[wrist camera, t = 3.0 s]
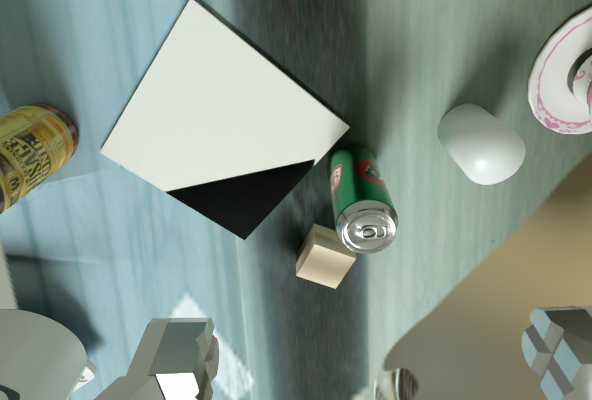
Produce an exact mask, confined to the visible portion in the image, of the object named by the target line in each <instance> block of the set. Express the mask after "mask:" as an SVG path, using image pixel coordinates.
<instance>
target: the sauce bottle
mask: <svg viewBox="0 0 592 400" xmlns="http://www.w3.org/2000/svg"><path fill="white" fill-rule="evenodd" d="M78 141H79V140H78V134H77V131H76V129H75V127H74V126H73V124H72V122H71V121H70V120H69V118H68V117H67V116H66V115H65V114H64V113H62V112H61V111H59V110H56V109H54V108H53V107H50V106H48V105H44V104H32V105H28V106H20V107H18V108H16V109H14V110H12V111H10V112H7V113H5V114H3V115H1V116H0V214H1V213H3V212H4V211H5V210H7V209H8V208H9V207H11V206H12V205H13V204H14V203H15V202H17V201H18V200H19V199H20V198H22V197H23V196H25V195H26V194H27V193H28V192H29V191H31V190H32V189H34V188H35V187H36V186H38V185H39V184H40V183H41V182H42V181H43V180H45V179H46V178H47V177H48V176H50V175H51V174H52V173H53V172H55V171H56V170H57V169H58V168H60V167H61V166H62V165H64V164H65V163H66V162H67V161H68V160H69V159H70V157H71V156H72V155H73V154H74V152H75V150H76V148H77V145H78Z"/></svg>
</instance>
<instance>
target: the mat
mask: <svg viewBox="0 0 592 400" xmlns="http://www.w3.org/2000/svg"><path fill="white" fill-rule="evenodd" d="M349 128H350V127H349V126H348V125H347V124H346V123H345V122H344V121H342V120H341V119H340V118H339V117H337V116H336V115H335V114H334V113H333V112H331V111H330V110H329V109H328V108H326V107H325V106H324V105H323V104H321V103H320V102H319V101H318V100H317V99H315V98H314V97H313V96H312V95H310V94H309V93H308V92H307V91H306V90H304V89H303V88H302V87H301V86H299V85H298V84H297V83H296V82H295V81H293V80H292V79H291V78H290V77H288V76H287V75H286V74H285V73H284V72H282V71H281V70H280V69H279V68H277V67H276V66H275V65H274V64H273V63H271V62H270V61H269V60H268V59H266V58H265V57H264V56H263V55H262V54H260V53H259V52H258V51H257V50H255V49H254V48H253V47H252V46H250V45H249V44H248V43H247V42H246V41H244V40H243V39H242V38H241V37H239V36H238V35H237V34H236V33H235V32H233V31H232V30H231V29H230V28H228V27H227V26H226V25H225V24H224V23H222V22H221V21H220V20H219V19H217V18H216V17H215V16H214V15H213V14H211V13H210V12H209V11H208V10H206V9H205V8H204V7H203V6H202V5H200V4H199V3H198V2H197V1H195V0H189V2H188V3H187V5H186V7H185V8H184V10H183V12H182V13H181V15H180V17H179V19H178V20H177V22H176V24H175V25H174V27H173V29H172V30H171V32H170V34H169V35H168V37H167V39H166V41H165V42H164V44H163V46H162V47H161V49H160V51H159V52H158V54H157V56H156V58H155V59H154V61H153V63H152V64H151V66H150V68H149V69H148V71H147V73H146V75H145V76H144V78H143V80H142V81H141V83H140V85H139V86H138V88H137V90H136V91H135V93H134V95H133V97H132V98H131V100H130V102H129V103H128V105H127V107H126V108H125V110H124V112H123V114H122V115H121V117H120V119H119V120H118V122H117V124H116V125H115V127H114V129H113V131H112V132H111V134H110V136H109V137H108V139H107V141H106V142H105V144H104V146H103V147H102V149H101V151H100V153H101V154H103V155H105V156H106V157H108V158H110V159H111V160H113V161H115V162H116V163H118V164H120V165H121V166H123V167H125V168H126V169H128V170H130V171H131V172H133V173H134V174H136V175H138V176H139V177H141V178H143V179H144V180H146V181H148V182H149V183H151V184H153V185H154V186H156V187H158V188H159V189H161V190H163V191H164V192H166V193H167V194H169V195H171V196H172V197H174V198H176V199H177V200H179V201H181V202H182V203H184V204H186V205H187V206H189V207H191V208H192V209H194V210H196V211H197V212H199V213H200V214H202V215H204V216H205V217H207V218H209V219H210V220H212V221H214V222H215V223H217V224H219V225H220V226H222V227H224V228H225V229H227V230H229V231H230V232H232V233H233V234H235V235H237V236H238V237H240V238H242V239H243V240H245V239H246V238H247V237H248V236H249V235H250V234H251V233H252V232H253V231H254V230H255V229H256V227H257V226H258V225H259V224H260V223H261V222H262V221H263V220H264V219H265V218H266V217H267V216H268V215H269V214H270V212H271V211H272V210H273V209H274V208H275V207H276V206H277V205H278V204H279V203H280V202H281V201H282V200H283V199H284V197H285V196H286V195H287V194H288V193H289V192H290V191H291V190H292V189H293V188H294V187H295V186H296V185H297V184H298V182H299V181H300V180H301V179H302V178H303V177H304V176H305V175H306V174H307V173H308V172H309V171H310V170H311V169H312V167H313V166H314V165H315V164H316V163H317V162H318V161H319V160H320V159H321V158H322V157H323V156H324V155H325V154H326V152H327V151H328V150H329V149H330V148H331V147H332V146H333V145H334V144H335V143H336V142H337V141H338V140H339V139H340V137H341V136H342V135H343V134H344V133H345V132H346V131H347V130H348V129H349Z"/></svg>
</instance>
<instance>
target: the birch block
mask: <svg viewBox="0 0 592 400" xmlns="http://www.w3.org/2000/svg"><path fill="white" fill-rule="evenodd" d="M355 259H356V256H355V252H354V251H352V250H350V249H349V248H348V247H347V246H346V245H345V244H344V243H343V242H342V241H341V240H340V239H339V237H338V235H337V233H336V231H334V230H331V229H328V228H326V227H323V226H320V225H317V224H315V223H313V225H312V227H311V229H310V230H309V232H308V234H307V236H306V237H305V239H304V241H303V243H302V244H301V246H300V248H299V250H298V252H297V253H296V276H298V277H301V278H304V279H308V280H311V281H314V282H317V283H320V284H323V285H326V286H329V287H332V288H335V289H336V287H337V286H338V284H339V283H340V281H341V280H342V278H343V277H344V276H345V274H346V273H347V271H348V270H349V268H350V267H351V265H352V264H353V262H354V261H355Z"/></svg>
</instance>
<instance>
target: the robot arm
mask: <svg viewBox="0 0 592 400" xmlns="http://www.w3.org/2000/svg"><path fill="white" fill-rule="evenodd" d="M529 319H530V320H531V322H532V323H533V325H531V326H529V327H528V328H527V329H525V330H524V333H523V336H522V350H523V353H524V356H525V359H526V361H527V363H528V365H529V367H530V368H531V369H532V370H533V371H535V372H536V373H538V374H539V375H540V376H542V377H541V382H540V386H541V388H542V390H543V391H544V393H545V395H546V397H547V399H548V400H592V306H579V307H576V306H567V307H544V308H536V309H534V310H533V311H532V313H531V315H530V318H529ZM213 329H214V325H213V322H212V318H152V320H151V321H150V322H149V323H148V324H147V327H146V329H145V332H144V334H143V336H142V339H141V341H140V343H139V346H138V348H137V351H136V353H135V355H134V358H133V360H132V362H131V365H130V367H129V370H128V372H127V374H126V376H121V377H119V378H118V379H116V380H115V381H114V382H113V383H112V384H111V385H110V386H109V387H107V388H106V389H105V390H104V391H103V392H102V393H101V394H100V395H98V396H97V397H96V398H95V399H94V400H212V395H213V390H212V387H211V383H210V382H211V381H212V380H213V379H214V378H215V376H216V375H217V370H218V363H219V346H218V341H217V338H216V337H215V336H213V335H212V334H213ZM97 372H98V369H97V367H96V366H95V365H94V364H93V363H92V362H91V361H90V360H89V359H88V357H87V355H86V352H85V349H84V346H83V345H82V343H81V341H80V340H79V339H78V338H77V337H76V335H75V334H73V333H72V332H71V331H70V330H69V329H67V328H66V327H65V326H63V325H61V324H60V323H58V322H56V321H54V320H52V319H50V318H48V317H45V316H42V315H39V314H36V313H33V312H28V311H23V310H16V309H0V400H68V399H69V397H70V396H71V394H72V392H74V391H75V390H77V389H78V388H80V387H81V386H83V385H84V384H86V383H87V382H89V381H91V380H92V379H93V378H94V377H95V376H96V374H97Z"/></svg>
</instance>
